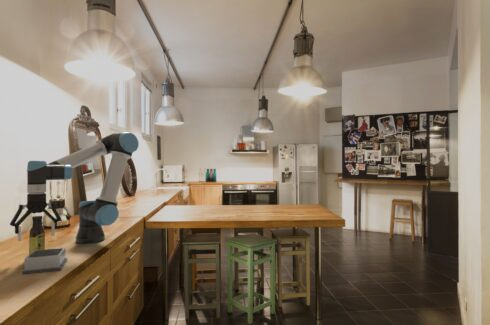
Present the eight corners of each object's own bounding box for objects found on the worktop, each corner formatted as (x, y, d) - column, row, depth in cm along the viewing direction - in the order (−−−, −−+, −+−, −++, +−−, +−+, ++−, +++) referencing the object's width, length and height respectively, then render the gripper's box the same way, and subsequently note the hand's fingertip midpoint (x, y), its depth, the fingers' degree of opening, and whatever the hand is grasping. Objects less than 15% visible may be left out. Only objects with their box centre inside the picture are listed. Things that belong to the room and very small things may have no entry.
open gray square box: (32, 263, 142) (32, 249, 142) (67, 260, 147) (67, 247, 147) (22, 274, 129) (22, 259, 129) (61, 270, 134) (61, 255, 134)
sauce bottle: (40, 260, 147) (39, 217, 147) (25, 260, 147) (25, 217, 146) (47, 256, 154) (47, 215, 153) (34, 256, 153) (34, 215, 153)
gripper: (5, 195, 138) (5, 244, 138) (68, 192, 156) (68, 235, 156) (2, 194, 144) (2, 241, 144) (63, 191, 161) (63, 232, 161)
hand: (36, 238), depth 150 cm, fingers open, 13 cm apart
